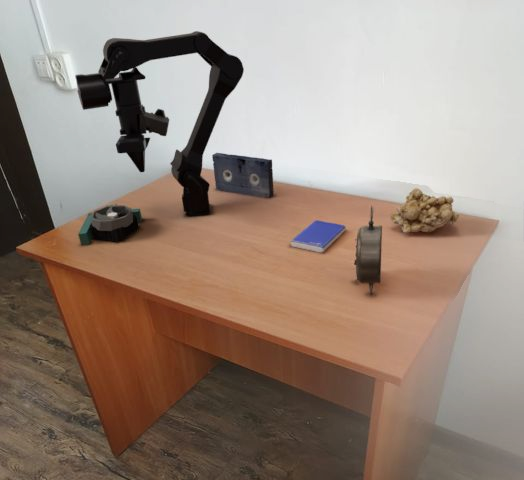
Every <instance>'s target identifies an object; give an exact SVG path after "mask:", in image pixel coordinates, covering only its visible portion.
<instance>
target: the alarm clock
mask: <svg viewBox="0 0 524 480" xmlns="http://www.w3.org/2000/svg"><path fill="white" fill-rule="evenodd" d="M369 216H370V217H369V218H370V220H369V221H368V225H362V226H361V227H360V228H359V229H358V231H357V235H356V238H355V239H354V240H355V242H356V245H355V248H356V249H355V259H354V262H353V265H354V266H355V276H356V279H355V280H354V283H357V282H358V283H360V284H368V285H369V287H368V288H369V292H368V294H369V295H370V296H372V295H373V290H374V284H380V283H381V279H382V278H381V277H382V276H381V275H382V274H381V273H382V243H383V242H382V241H383V225H374V223H375V222H374V220H373V219H374V205H371V206H370V215H369Z"/></svg>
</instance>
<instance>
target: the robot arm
mask: <svg viewBox="0 0 524 480" xmlns="http://www.w3.org/2000/svg"><path fill="white" fill-rule="evenodd" d="M102 54H103V59H102V62H101V64H100V66H99V68H98V70H97V71H98V72H96V73H89V74H82V73H80V74H75V75H74V77H75V80H76V87H77V94H78V99H79V102H80V104H81V107H82V110H83V111H85V110H86V111H87V110H93V109H99V108H106V107H109V104H110V103H112V101H113V98H114V103H115V107H116V110H115V116H116V117H118V122H119V126H120V129H119V135H120V136H119V138H118V139H117V141H116V143H115V147H116V152H117V154H126V155H127V156H128V158H130V160H131V161H132V163H133V164H134V166H135V167H136V169H137V170H138V172H140V173H144V172H145V171H146V149H147V148H148V147H149V144H150V141H151V137H145V134H147V131H148V133H149V134H152V133H154V134H157V135H159V136H160V137H161V136H162V137H166V136H167V135H168V130H169V125H170V118H169V116H166V114H165V110H164V109H161V108H157V109H156V110H155V112H153V111H152V112H151V111H150V112H148V111H146V107H145V105H144V104H142V100H141V94H140V90H139V86H138V81H142V80H145V79H146V77H147V76H146V75H144V74H143V73H141V71H140V70H139V68H138V67H140V66H142V65H144V64H146V63H147V62H150V61H154V60H160V59H162V60H163V59H167V58H168V59H169V58H173V57H181V56H187V55H192V54H198V55H199V57H201V58H202V60H204V61H205V62H206V64H208V66H210V69H209V74H208V75H209V76H208V89H207V93H206V95H205V98H204V100H203V103H202V105H201V108H200V110H199V113H198V116H197V117H196V121H195V123H194V126H193V128H192V130H191V134H190V136H189V138H188V140H187V144H186V145H185V147H184V148H183V149H182V150H181V151H180V150H179V149H175V152H174V156H173V158H172V161H171V162H170V163H169V164H170V165H171V170H170V171H171V174H172V177H173V178H174V179H175V181H177V182H178V184H179V185H180V186H181V187H182V188H183V189H182V194H181V200H182V201H181V202H182V208H183V212H184V213H185V216H186V217H195V216H205V215H207V216H208V215H211V204H210V197H209V191H210V186H211V185H210V182H208V180H206V178H204V177H203V176H202V175H201V174H202V170H203V159H204V158H203V157H204V153H205V151H206V147H207V146H208V143H209V141H210V138H211V136H212V133H213V131H214V129H215V126H216V123H217V121H218V119H219V116H220V114H221V111H222V109H223V106H224V104H225V101H226V99H227V98H228V97H229V96H230V95H231V94H232V93H233V92H234V90H235V89H236V87H237V86H238V84H239V83H240V81H241V80H242V78H243V75H244V70H245V69H244V65H243V62H242V60H241V59H240V58H239V57H238V56H237V55H233V54H230V53H228V52H226V51H225V50H224V49H223V48H222V47H220V46H219V45H218V44H217V43H215V42H214V41H213V40H212V39H211V38H210V37H209V35H208V34H207V33H205V32H202V31H197V30H195V31H192V32H190V33H189V32H188V33H183V34H176V35H170V36H164V37H156V38H150V39H149V38H148V39H132V38H120V37H112V38H109V39H108V40H106V42H105V43H104V44H103V47H102ZM117 76H118V77H117ZM110 85H111V88H110ZM111 89H112V91H111ZM112 94H113V95H112Z"/></svg>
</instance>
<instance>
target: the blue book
mask: <svg viewBox="0 0 524 480" xmlns="http://www.w3.org/2000/svg"><path fill="white" fill-rule="evenodd" d="M345 231H346V226H345V225H344V224H340V223H333V222H328V221H323V220H314V221H313V222H311V224H309V225H308V226H307V227H305V228H304V229H303V230H302V231H301V232H300V233H298V234H297V235H296V236H295V237H294V238H292V239H291V240H290V246H291V247H293V248H297V249H302V250H306V251H311V252H316V253H324V252H325V251H326V250H327V249H328V248H329V247H330V246H331V245H332V244H333V243H334V242H335V241H336V240H337V239H338V238H339V237H340V236H342V234H343V233H345Z"/></svg>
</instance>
